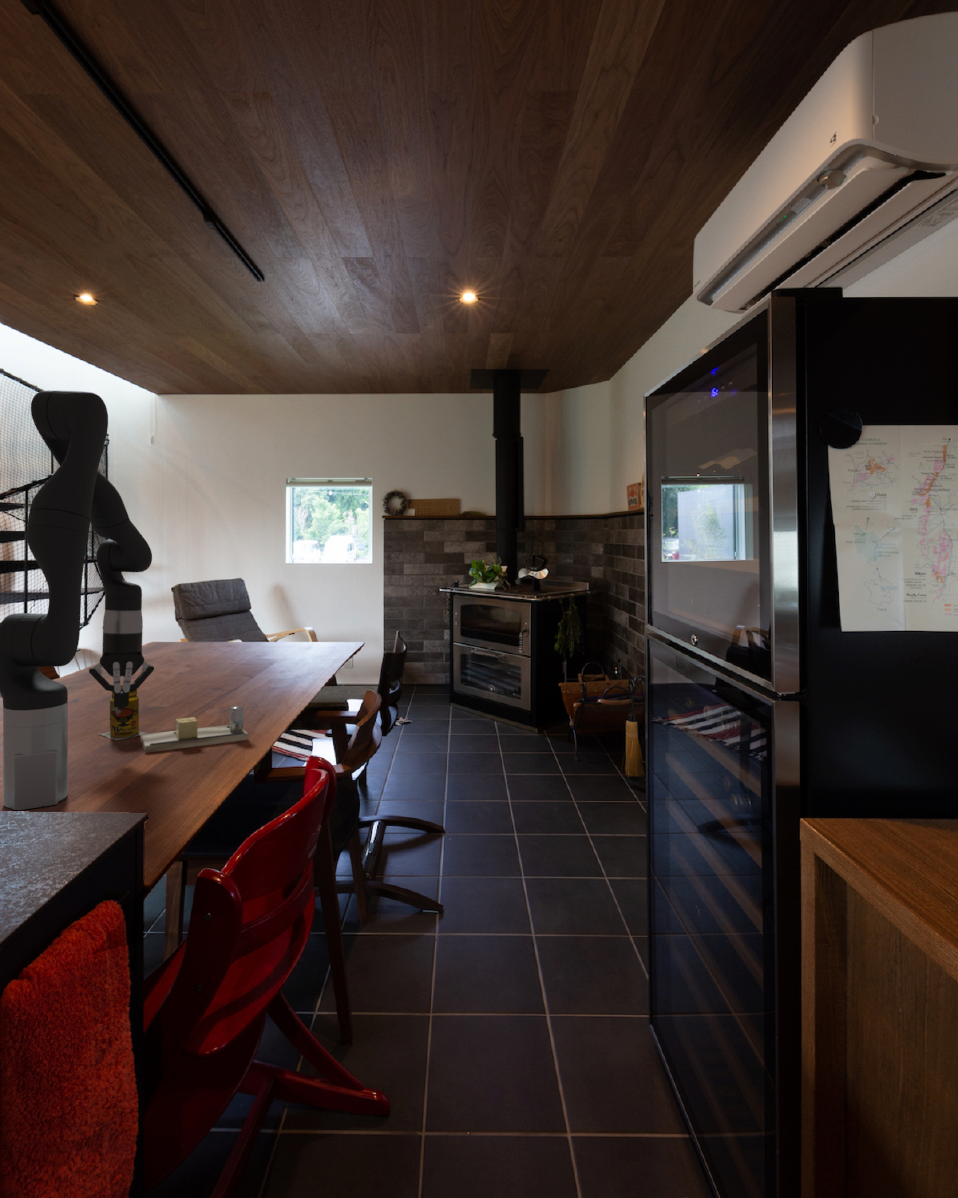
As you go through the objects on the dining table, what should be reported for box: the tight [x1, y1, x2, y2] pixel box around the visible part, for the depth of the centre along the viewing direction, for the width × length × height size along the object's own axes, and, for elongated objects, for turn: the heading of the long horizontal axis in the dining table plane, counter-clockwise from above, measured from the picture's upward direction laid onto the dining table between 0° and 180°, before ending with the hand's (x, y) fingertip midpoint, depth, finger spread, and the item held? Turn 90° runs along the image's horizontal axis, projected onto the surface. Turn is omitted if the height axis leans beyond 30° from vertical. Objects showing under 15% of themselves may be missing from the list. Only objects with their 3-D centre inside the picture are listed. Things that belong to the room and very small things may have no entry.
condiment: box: [98, 684, 147, 741], centre depth 148 cm, size 7×8×12 cm
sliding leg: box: [175, 716, 199, 740], centre depth 144 cm, size 7×4×4 cm, turn 35°
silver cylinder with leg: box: [229, 705, 244, 733], centre depth 150 cm, size 6×3×6 cm, turn 34°
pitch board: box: [140, 724, 249, 754], centre depth 145 cm, size 10×22×2 cm, turn 124°
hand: (121, 708), depth 134 cm, fingers closed
